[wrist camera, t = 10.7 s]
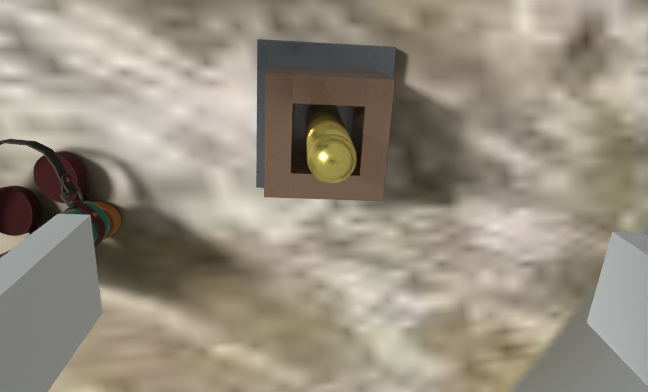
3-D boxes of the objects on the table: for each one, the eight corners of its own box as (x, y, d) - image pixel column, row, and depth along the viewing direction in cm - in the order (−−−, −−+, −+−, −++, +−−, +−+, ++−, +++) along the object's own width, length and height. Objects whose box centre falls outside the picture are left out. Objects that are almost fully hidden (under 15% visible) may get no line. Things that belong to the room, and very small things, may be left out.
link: (272, 65, 31) (265, 73, 25) (378, 70, 31) (394, 79, 26) (270, 168, 33) (264, 197, 28) (369, 171, 34) (382, 201, 28)
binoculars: (-61, 132, 23) (72, 291, 25) (59, 114, 33) (146, 228, 35) (-188, 226, 24) (-51, 370, 26) (-35, 181, 34) (55, 287, 37)
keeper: (259, 39, 31) (233, 45, 20) (393, 46, 32) (444, 57, 20) (257, 183, 35) (235, 259, 23) (379, 187, 35) (416, 265, 24)
